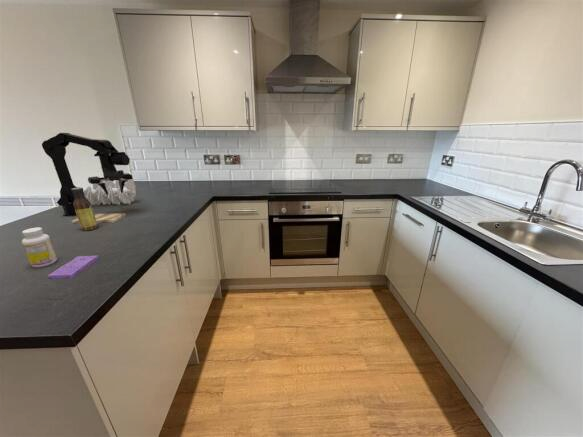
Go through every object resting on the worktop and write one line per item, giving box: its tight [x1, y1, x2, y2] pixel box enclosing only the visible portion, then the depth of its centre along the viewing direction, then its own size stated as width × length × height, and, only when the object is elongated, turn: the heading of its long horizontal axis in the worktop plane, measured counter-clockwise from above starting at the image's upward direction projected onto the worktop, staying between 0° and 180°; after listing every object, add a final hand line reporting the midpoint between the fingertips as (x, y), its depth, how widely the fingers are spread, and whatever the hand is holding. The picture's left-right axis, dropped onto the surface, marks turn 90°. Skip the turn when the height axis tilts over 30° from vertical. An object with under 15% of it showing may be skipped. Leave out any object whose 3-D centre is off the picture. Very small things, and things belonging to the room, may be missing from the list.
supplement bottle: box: [21, 226, 58, 268], centre depth 83 cm, size 7×7×13 cm
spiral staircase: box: [83, 176, 137, 206], centre depth 152 cm, size 18×18×25 cm
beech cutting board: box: [71, 212, 127, 224], centre depth 128 cm, size 20×11×1 cm, turn 95°
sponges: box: [48, 255, 100, 279], centre depth 82 cm, size 7×13×2 cm, turn 4°
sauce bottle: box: [71, 186, 98, 232], centre depth 112 cm, size 7×6×20 cm
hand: (114, 193), depth 131 cm, fingers open, 6 cm apart
